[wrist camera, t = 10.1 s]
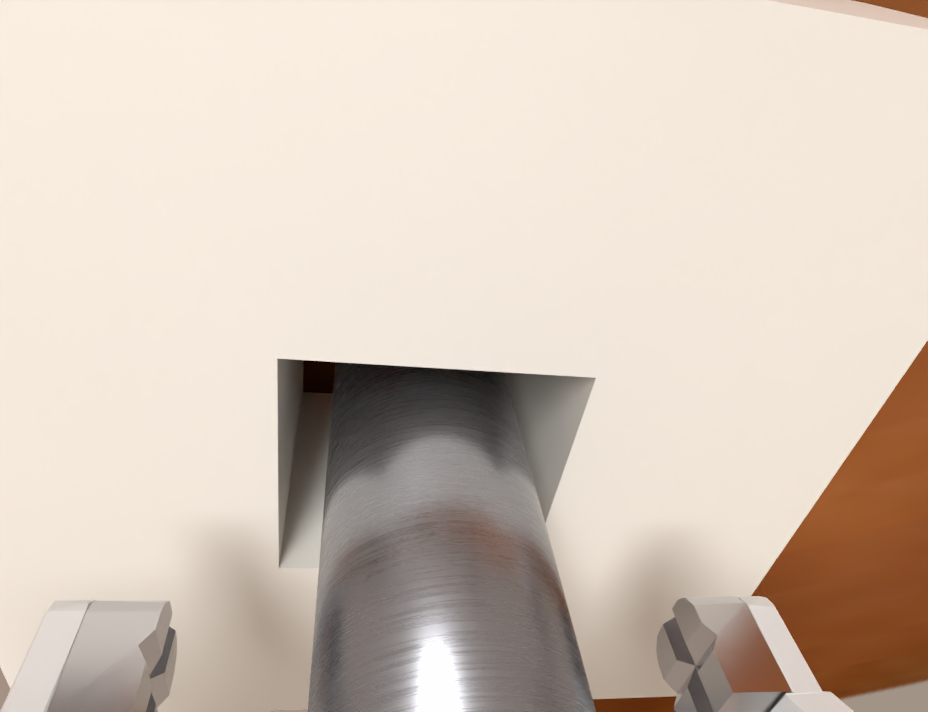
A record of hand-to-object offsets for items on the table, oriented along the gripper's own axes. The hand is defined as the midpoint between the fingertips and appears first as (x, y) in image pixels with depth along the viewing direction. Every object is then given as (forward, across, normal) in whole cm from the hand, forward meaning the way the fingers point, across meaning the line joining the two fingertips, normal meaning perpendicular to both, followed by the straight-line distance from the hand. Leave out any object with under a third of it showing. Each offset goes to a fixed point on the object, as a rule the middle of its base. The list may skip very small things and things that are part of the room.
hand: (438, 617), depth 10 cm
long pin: (+9, 0, 0) cm, 9 cm away
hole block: (+9, 0, 0) cm, 9 cm away
